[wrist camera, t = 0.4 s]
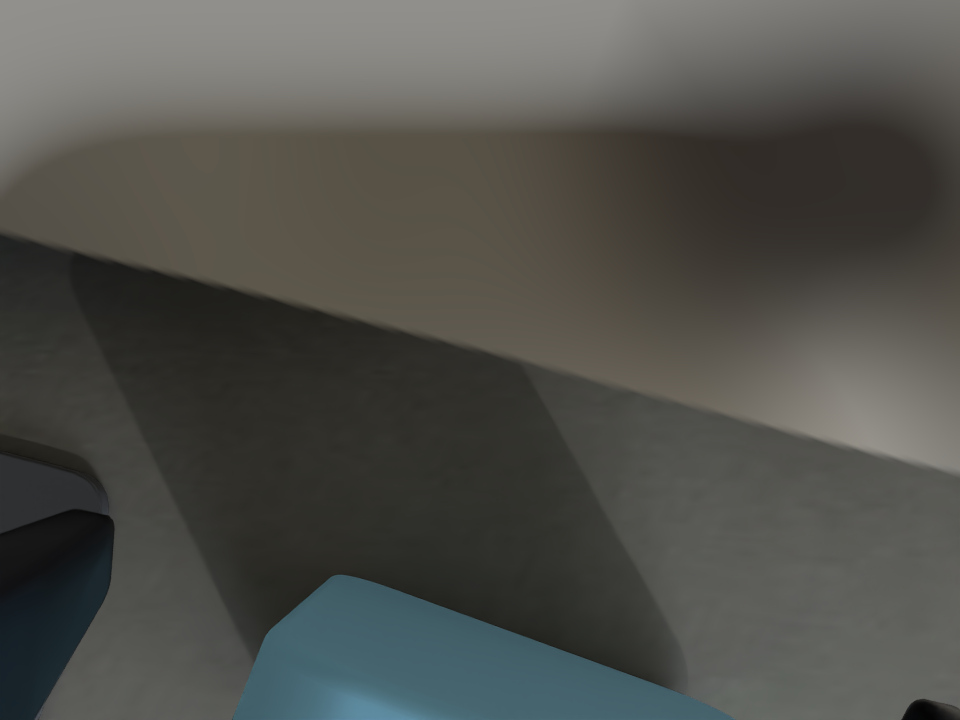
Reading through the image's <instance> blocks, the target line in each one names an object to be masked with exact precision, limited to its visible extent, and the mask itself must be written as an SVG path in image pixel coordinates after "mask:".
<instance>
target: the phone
mask: <svg viewBox="0 0 960 720" xmlns="http://www.w3.org/2000/svg"><path fill="white" fill-rule="evenodd" d="M70 509H83V510H87V511H91V512H96V513H100V514H105V515H108V510H109V505H108V498H107V494H106V492H105V490H104V488H103V487H102V485H101V484H100V483H99V482H98V481H97V480H95V479H94V478H93V477H91V476H89V475H87V474H85V473H83V472H80V471H76V470H73V469H69V468H66V467H62V466H58V465H54V464H51V463H47V462H43V461H39V460H35V459H31V458H28V457H24V456H20V455H16V454H12V453H8V452H5V451H1V450H0V533H3V532H6V531H9V530H12V529H15V528H18V527H20V526H23V525H26V524H29V523H32V522H35V521H38V520H41V519H44V518H46V517H49V516H52V515H55V514H58V513H61V512H64V511H67V510H70ZM43 706H44V705H43ZM43 706H42V708H41V710H40V711H39V713H38V715H37V716H36V718H35V719H34V720H39V717H40V714H41V712H42V709H43Z"/></svg>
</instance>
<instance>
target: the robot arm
mask: <svg viewBox="0 0 960 720" xmlns="http://www.w3.org/2000/svg"><path fill="white" fill-rule="evenodd" d="M113 544H114V523H113V520H112V519H111V518H110V517H109V516H108V515H105V514H100V513H96V512H91V511H87V510H83V509H70V510H67V511H64V512H61V513H58V514H55V515H52V516H49V517H46V518H44V519H41V520H38V521H35V522H32V523H29V524H26V525H23V526H20V527H18V528H15V529H12V530H9V531H6V532H3V533H0V720H34V719H35V718H36V716H37V715H38V713H39V711H40V710H41V708H42V706H43V705H44V703H45V701H46V700H47V698H48V696H49V694H50V693H51V691H52V689H53V687H54V686H55V684H56V682H57V681H58V679H59V677H60V675H61V674H62V672H63V670H64V669H65V667H66V665H67V663H68V662H69V660H70V658H71V657H72V655H73V653H74V651H75V650H76V648H77V646H78V645H79V643H80V641H81V639H82V638H83V636H84V634H85V633H86V631H87V629H88V627H89V626H90V624H91V622H92V620H93V619H94V617H95V615H96V614H97V612H98V610H99V608H100V607H101V605H102V603H103V601H104V599H105V597H106V595H107V592H108V589H109V586H110V581H111V571H112V558H113ZM902 720H960V709H959V708H957V707H955V706H952V705H948V704H944V703H939V702H935V701H930V700H926V699H919V700H916V701H914V702H913V703H911V704H910V706H909V707H908V708H907V710H906V712H905V714H904V716H903V718H902Z"/></svg>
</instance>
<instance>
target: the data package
mask: <svg viewBox="0 0 960 720" xmlns="http://www.w3.org/2000/svg"><path fill="white" fill-rule="evenodd" d="M232 720H735V719H734V718H732V717H730V716H729V715H727V714H725V713H723V712H721V711H719V710H717V709H715V708H713V707H711V706H709V705H707V704H704V703H702V702H700V701H698V700H695V699H693V698H691V697H688V696H686V695H683V694H681V693H678V692H676V691H673V690H670V689H668V688H665V687H662V686H659V685H657V684H654V683H651V682H648V681H646V680H643V679H640V678H637V677H635V676H632V675H629V674H626V673H624V672H621V671H618V670H615V669H613V668H610V667H607V666H604V665H601V664H599V663H596V662H593V661H590V660H588V659H585V658H582V657H579V656H577V655H574V654H571V653H568V652H566V651H563V650H560V649H557V648H555V647H552V646H549V645H546V644H544V643H541V642H538V641H535V640H533V639H530V638H527V637H524V636H522V635H519V634H516V633H513V632H510V631H508V630H505V629H502V628H499V627H497V626H494V625H491V624H488V623H486V622H483V621H480V620H477V619H475V618H472V617H469V616H466V615H464V614H461V613H458V612H455V611H453V610H450V609H447V608H444V607H442V606H439V605H436V604H433V603H431V602H428V601H425V600H422V599H420V598H417V597H414V596H411V595H408V594H406V593H403V592H400V591H397V590H395V589H392V588H389V587H386V586H383V585H380V584H377V583H374V582H371V581H368V580H364V579H361V578H357V577H352V576H347V575H334V576H332V577H330V578H329V579H328V580H327V581H326V582H324V583H323V584H322V585H321V586H320V587H319V588H318V589H316V590H315V591H314V592H313V593H312V594H311V595H309V596H308V597H307V598H306V599H305V600H304V601H303V602H301V603H300V604H299V605H298V606H297V607H296V608H295V609H293V610H292V611H291V612H290V613H289V614H288V615H286V616H285V617H284V618H283V619H282V620H281V621H280V622H278V623H277V624H276V625H275V626H274V627H273V628H271V629H270V630H269V632H268V633H267V635H266V636H265V638H264V640H263V643H262V645H261V648H260V650H259V653H258V656H257V658H256V661H255V663H254V666H253V668H252V671H251V673H250V676H249V678H248V681H247V683H246V686H245V689H244V691H243V694H242V696H241V699H240V701H239V704H238V706H237V709H236V711H235V714H234V716H233V719H232Z"/></svg>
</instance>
